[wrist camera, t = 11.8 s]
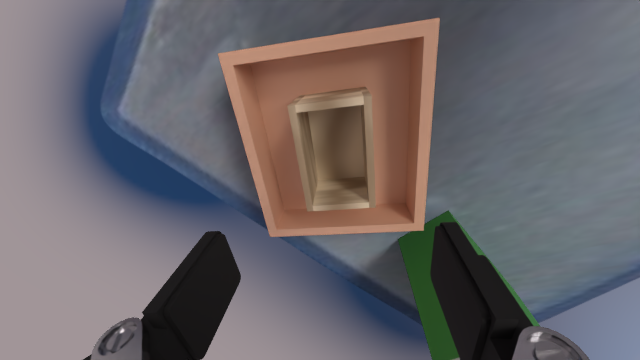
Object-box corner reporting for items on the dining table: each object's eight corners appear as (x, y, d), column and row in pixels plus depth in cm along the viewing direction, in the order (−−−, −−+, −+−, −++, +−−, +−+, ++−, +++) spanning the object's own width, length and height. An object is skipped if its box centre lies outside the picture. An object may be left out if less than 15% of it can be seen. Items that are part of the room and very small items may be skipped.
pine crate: (365, 86, 23) (371, 95, 18) (370, 178, 28) (375, 207, 22) (300, 95, 24) (287, 106, 19) (314, 182, 29) (307, 211, 23)
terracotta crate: (420, 25, 21) (439, 17, 17) (412, 204, 30) (423, 230, 25) (241, 54, 24) (217, 53, 19) (280, 212, 32) (270, 237, 28)
